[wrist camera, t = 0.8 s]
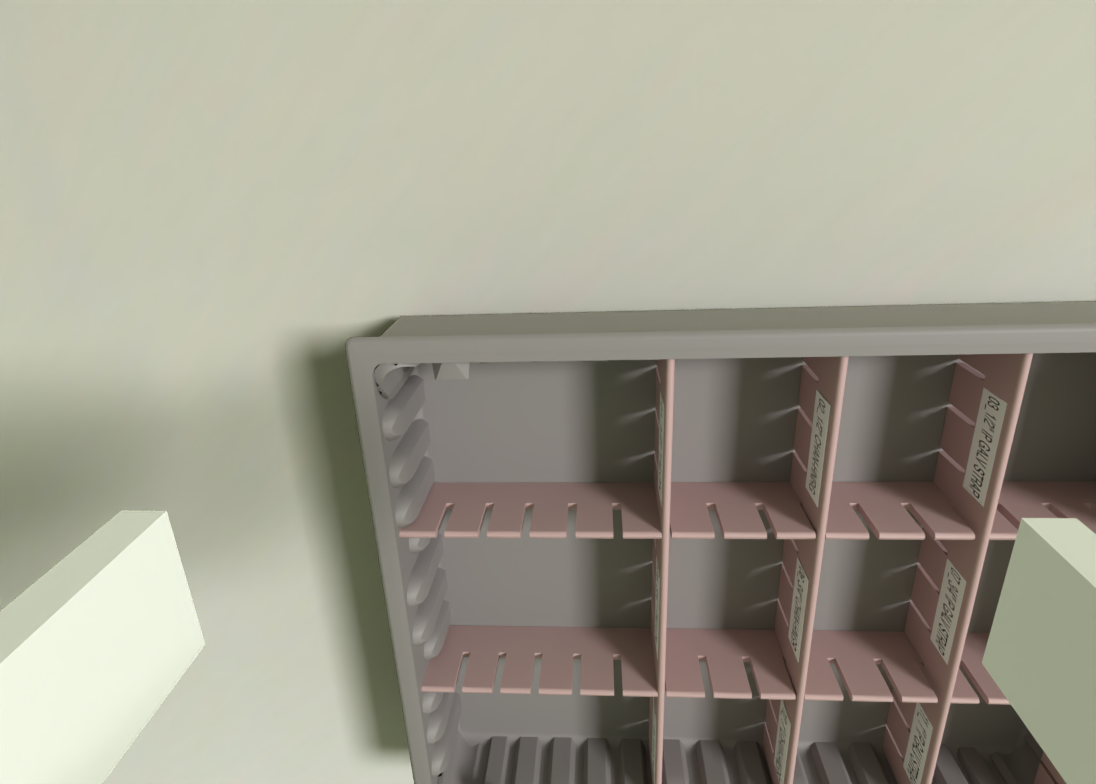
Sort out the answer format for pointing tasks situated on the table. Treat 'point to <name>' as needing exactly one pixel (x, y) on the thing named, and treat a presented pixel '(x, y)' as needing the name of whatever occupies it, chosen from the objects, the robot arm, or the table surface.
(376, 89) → the table surface
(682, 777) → the organizer tray
